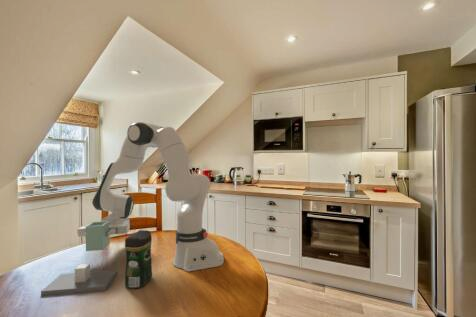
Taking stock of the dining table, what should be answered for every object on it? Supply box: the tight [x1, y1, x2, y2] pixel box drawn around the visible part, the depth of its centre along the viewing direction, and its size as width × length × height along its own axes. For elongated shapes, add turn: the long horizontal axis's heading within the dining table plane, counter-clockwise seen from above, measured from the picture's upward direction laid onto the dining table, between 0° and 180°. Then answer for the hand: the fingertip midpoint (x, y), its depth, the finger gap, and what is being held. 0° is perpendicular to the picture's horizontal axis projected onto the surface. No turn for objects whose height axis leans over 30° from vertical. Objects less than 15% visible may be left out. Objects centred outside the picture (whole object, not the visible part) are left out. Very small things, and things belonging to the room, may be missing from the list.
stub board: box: [40, 263, 118, 296], centre depth 82 cm, size 20×11×6 cm, turn 100°
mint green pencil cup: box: [85, 221, 110, 252], centre depth 93 cm, size 6×6×10 cm
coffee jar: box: [124, 229, 153, 290], centre depth 83 cm, size 10×8×19 cm
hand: (97, 235), depth 92 cm, fingers closed on mint green pencil cup, 6 cm apart
